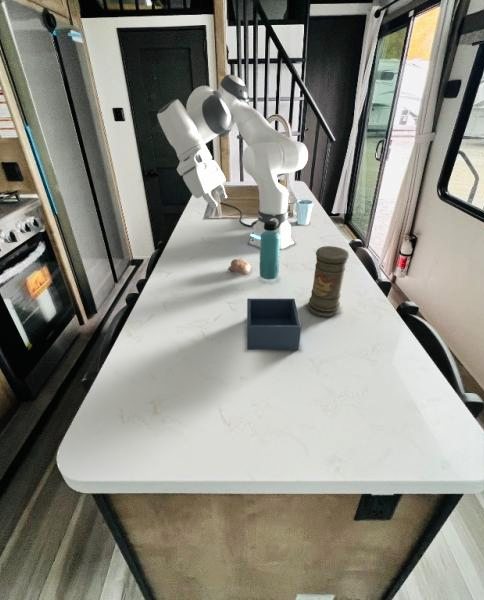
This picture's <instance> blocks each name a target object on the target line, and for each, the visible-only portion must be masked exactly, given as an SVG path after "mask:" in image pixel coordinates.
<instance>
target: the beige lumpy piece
mask: <svg viewBox="0 0 484 600" xmlns="http://www.w3.org/2000/svg"><path fill="white" fill-rule="evenodd" d="M251 269H252V267H251V265H250V263H249V262H247V261H246V260H244V259H241V258H238V259H237V258H235V259H232V260H231V262H230V266H229V267H228V268H227V271H230V272H231V273H237V274H239V275H242V276H243V275H248V274H250V272H251Z"/></svg>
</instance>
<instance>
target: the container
mask: <svg viewBox="0 0 484 600" xmlns="http://www.w3.org/2000/svg"><path fill="white" fill-rule="evenodd" d="M315 256H316V257H315V258H316V263H315V266H314V267H315V268H314V276H313V284H312V289H311V295H310V297H309V299H308V303H307V307H308V311H310V312H311V313H312V314H313V315H315V316H317V317H321V318H331V317H334V316H336V315H338V313H339V312H340V305H341V303H340V299H341V291H342V287H343V280H344V276H345V272H346V265H347V264H346V263H347V262H348V259H349V258H350V253H349V252H348V251H347V250H346V249H344V248H342V247H338V246H332V245H325V246H321V247H319V248H317V250H316V251H315Z"/></svg>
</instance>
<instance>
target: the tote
mask: <svg viewBox="0 0 484 600" xmlns="http://www.w3.org/2000/svg"><path fill="white" fill-rule="evenodd" d="M301 325H302V324H301V321H300V317H299V313H298V308H297V304H296V300H295V298H247V299H246V350H249V351H251V350H252V351H253V350H254V351H255V350H256V351H257V350H258V351H299V348H300V340H301V332H302V326H301Z"/></svg>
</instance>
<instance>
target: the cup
mask: <svg viewBox="0 0 484 600" xmlns="http://www.w3.org/2000/svg"><path fill="white" fill-rule="evenodd" d="M313 206H314V202H313V201H312V200H310V199H299V200H297V201H296V223H297V225H300V226H306V225H309V223H310V218H311V215H312V214H311V213H312V209H313Z"/></svg>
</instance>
